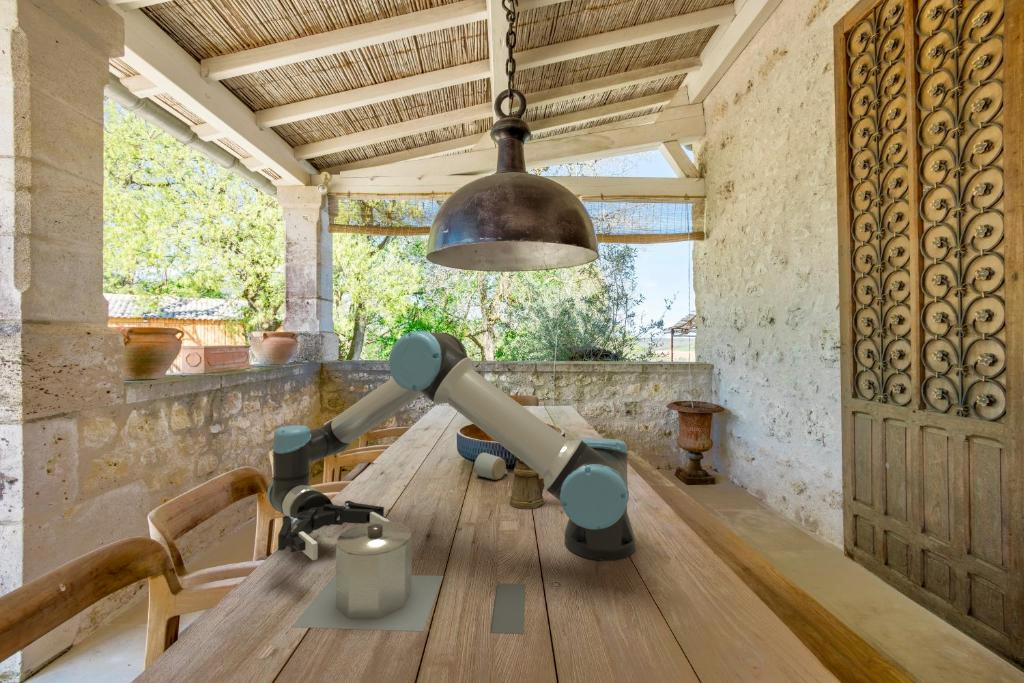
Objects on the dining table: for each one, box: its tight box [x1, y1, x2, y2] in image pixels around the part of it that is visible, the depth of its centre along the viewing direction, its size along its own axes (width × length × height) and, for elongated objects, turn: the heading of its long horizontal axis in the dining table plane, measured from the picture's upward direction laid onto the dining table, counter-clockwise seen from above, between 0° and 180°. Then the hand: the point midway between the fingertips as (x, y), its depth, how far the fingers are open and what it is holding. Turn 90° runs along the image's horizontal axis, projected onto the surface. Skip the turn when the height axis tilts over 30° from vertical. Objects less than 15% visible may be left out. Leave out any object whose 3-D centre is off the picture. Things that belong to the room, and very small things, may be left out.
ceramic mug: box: [473, 452, 508, 481], centre depth 149 cm, size 11×8×8 cm
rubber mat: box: [489, 582, 526, 635], centre depth 75 cm, size 14×14×1 cm
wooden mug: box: [509, 459, 545, 510], centre depth 124 cm, size 9×14×18 cm, turn 76°
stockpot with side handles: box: [335, 521, 413, 619], centre depth 76 cm, size 12×12×12 cm
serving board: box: [291, 573, 444, 633], centre depth 76 cm, size 20×16×1 cm
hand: (354, 539), depth 81 cm, fingers open, 13 cm apart
